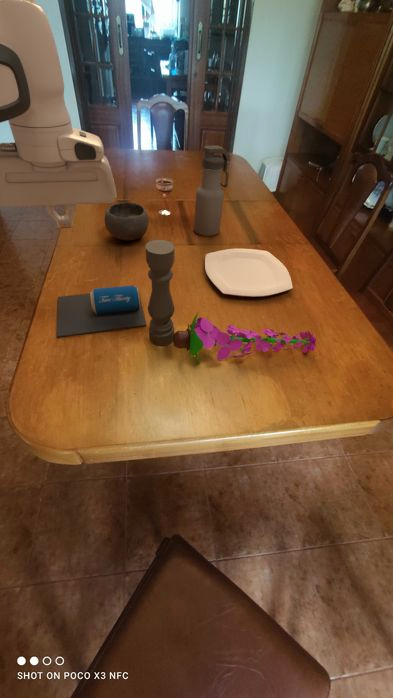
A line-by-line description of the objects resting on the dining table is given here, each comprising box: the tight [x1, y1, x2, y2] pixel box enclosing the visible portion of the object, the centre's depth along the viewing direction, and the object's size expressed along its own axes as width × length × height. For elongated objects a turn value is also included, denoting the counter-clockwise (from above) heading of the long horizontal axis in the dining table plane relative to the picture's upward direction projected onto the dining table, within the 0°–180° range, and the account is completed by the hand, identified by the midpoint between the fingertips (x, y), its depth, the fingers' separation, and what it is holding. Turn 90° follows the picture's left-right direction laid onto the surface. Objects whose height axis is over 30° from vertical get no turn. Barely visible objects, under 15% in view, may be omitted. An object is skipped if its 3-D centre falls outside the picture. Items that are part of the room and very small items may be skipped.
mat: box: [55, 290, 148, 339], centre depth 85 cm, size 22×16×1 cm
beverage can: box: [89, 285, 141, 314], centre depth 83 cm, size 6×6×12 cm
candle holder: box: [144, 239, 176, 348], centre depth 71 cm, size 6×6×25 cm
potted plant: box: [172, 311, 317, 364], centre depth 76 cm, size 12×16×35 cm
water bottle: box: [193, 145, 231, 237], centre depth 111 cm, size 10×10×28 cm
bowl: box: [104, 201, 150, 241], centre depth 110 cm, size 15×15×10 cm
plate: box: [204, 248, 294, 298], centre depth 101 cm, size 27×27×2 cm
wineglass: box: [155, 177, 174, 216], centre depth 126 cm, size 7×7×12 cm
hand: (66, 226), depth 60 cm, fingers closed
